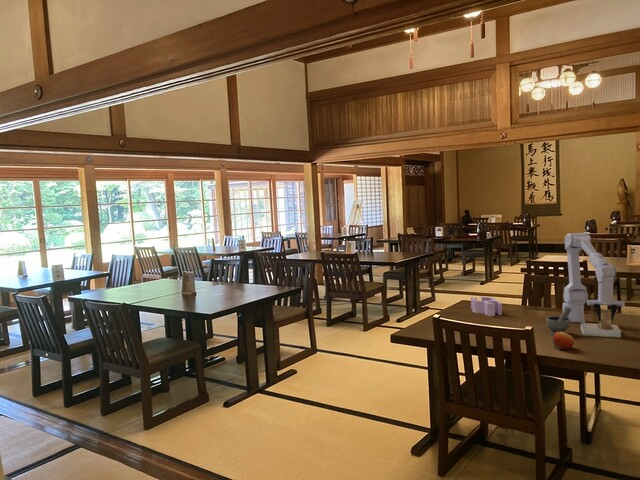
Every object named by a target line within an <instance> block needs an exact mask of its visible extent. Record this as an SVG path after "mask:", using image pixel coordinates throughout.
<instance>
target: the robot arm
mask: <svg viewBox="0 0 640 480" xmlns="http://www.w3.org/2000/svg"><path fill="white" fill-rule="evenodd" d="M591 241H592V238H591V236H590V234H589V232H573V233H567V234H565V237H564V249H565V250H566V254H567V257H566V258H567V269H568V284H567V285H566V286H565V287H564V288H563V295H562V297H563V300H564V302H562V312H563V311H564V310H565V307H568V308H570V309H571V311H570V313H569V315H568V317H567V318H569V319H570V323H578V324H579V323H580V324H581V323H586V319H585V315H584V314H585V313H584V312H585V311H584V310H585V309H584V308H585V304H586V305H587V306H593V308H594V309H595V312H596V314H597V320H598V322H600V321H601V309H602V307H601V306H607V307H609V310H610V311H611V323H613V320H614V317H615V314H617V311H618V310H619V307H625V305H626V303H625V301H622V300H614V278H615V277H616V275H617V268H616V267H615V264H611V263H610V262H608V261H607V260H606V258H605V257H604V256H603V255H602V253H601V252H597V250H596V248H594V246H593V243H592V242H591ZM581 250H583V251H584V252H585V253H586V254H587V255H588V256H589V257H588V258H589V259H588V260H589V263H591V265H592V266H593V268H594V269H595V275H596V279H597V281H596V282H598V283H597V284H598V288H597V289H598V291H597V293H598V294H597V297H598V298H597V299H589V294H588V291H587V287H586V286H585V285H583V284H582V278H581V267H580V266H581V265H580V255H579V254H580V251H581Z"/></svg>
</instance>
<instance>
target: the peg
mask: <svg viewBox="0 0 640 480" xmlns="http://www.w3.org/2000/svg"><path fill="white" fill-rule="evenodd" d="M599 324H600V328H603V329H611V325H612V322H611V311H610V309H602V308H601V321H599Z"/></svg>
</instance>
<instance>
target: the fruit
mask: <svg viewBox="0 0 640 480" xmlns="http://www.w3.org/2000/svg"><path fill="white" fill-rule="evenodd" d="M552 342H553V347H554V348H557V351H560V349H561V350H570V349H572V348H573V346H574V344H575V339H574V337H573V335H570V334H568V333H566V332H565V333H564V332H556V333H555V334H553V337H552Z"/></svg>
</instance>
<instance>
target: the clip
mask: <svg viewBox="0 0 640 480" xmlns="http://www.w3.org/2000/svg"><path fill="white" fill-rule="evenodd" d="M480 298H481V299H480V300H479V299H478V298H477V297H475V296H471V297H470V309H471V310H472V312H473V313H475V314H482V315H485V316H487V315H488V317H492V316H495V317H496V315H503V313H502V312H503V311H502V310H503V307H502V306H503V304H502V301H500V300H497V299H496V298H495V297H490V296H483V295H481V296H480ZM495 313H497V314H495Z"/></svg>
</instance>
